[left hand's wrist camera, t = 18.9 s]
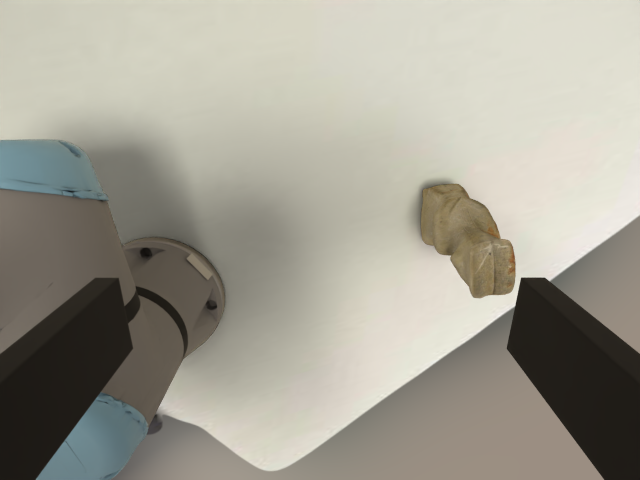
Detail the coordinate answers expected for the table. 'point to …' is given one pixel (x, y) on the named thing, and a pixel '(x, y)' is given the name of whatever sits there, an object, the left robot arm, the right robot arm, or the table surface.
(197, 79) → the table surface
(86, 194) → the left robot arm
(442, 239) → the sculpture
